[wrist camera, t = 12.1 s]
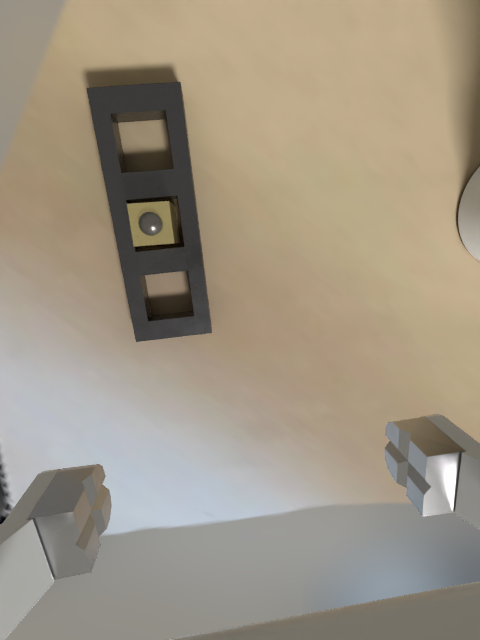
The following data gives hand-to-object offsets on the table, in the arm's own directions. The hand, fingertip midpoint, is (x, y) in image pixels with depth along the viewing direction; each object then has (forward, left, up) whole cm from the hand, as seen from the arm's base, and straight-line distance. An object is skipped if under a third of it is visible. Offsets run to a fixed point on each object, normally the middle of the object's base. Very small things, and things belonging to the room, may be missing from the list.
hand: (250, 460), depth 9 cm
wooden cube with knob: (+6, -8, -31) cm, 33 cm away
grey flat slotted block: (+6, -8, -31) cm, 33 cm away
